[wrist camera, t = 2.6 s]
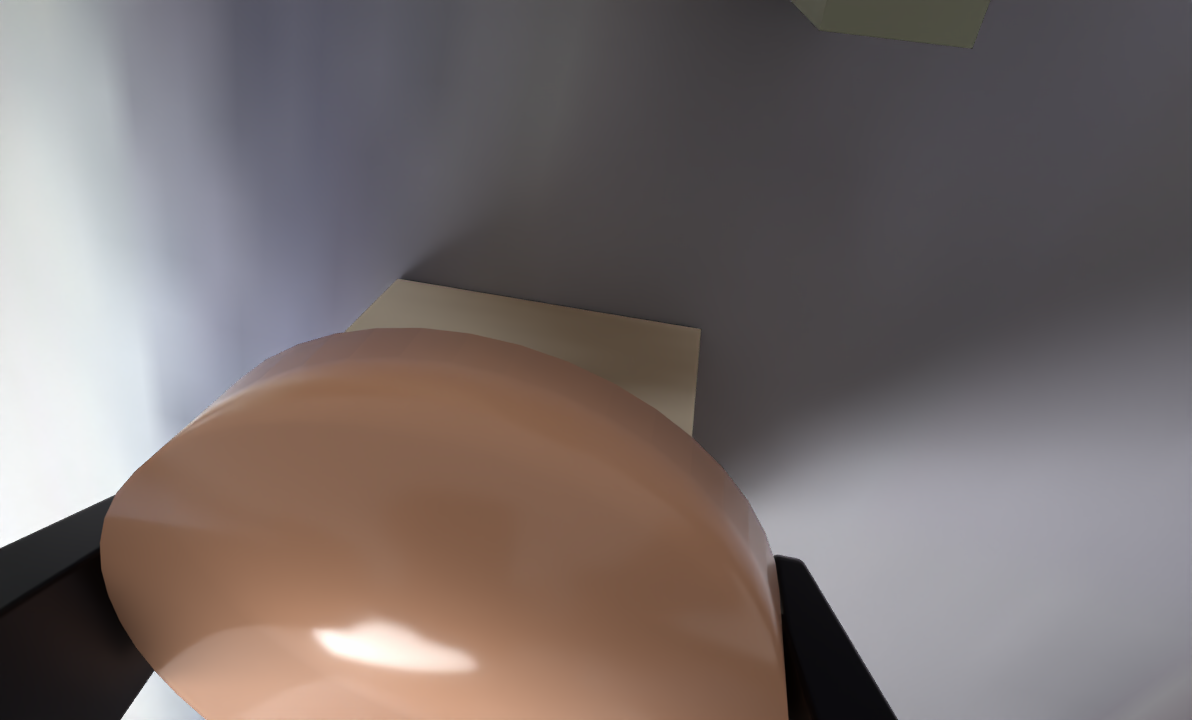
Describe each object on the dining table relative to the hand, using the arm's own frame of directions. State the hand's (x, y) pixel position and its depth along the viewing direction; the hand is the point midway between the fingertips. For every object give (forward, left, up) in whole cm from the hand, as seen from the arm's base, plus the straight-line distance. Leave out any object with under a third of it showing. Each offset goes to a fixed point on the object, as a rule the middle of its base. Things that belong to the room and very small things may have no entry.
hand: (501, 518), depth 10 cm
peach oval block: (0, 0, +1) cm, 1 cm away
